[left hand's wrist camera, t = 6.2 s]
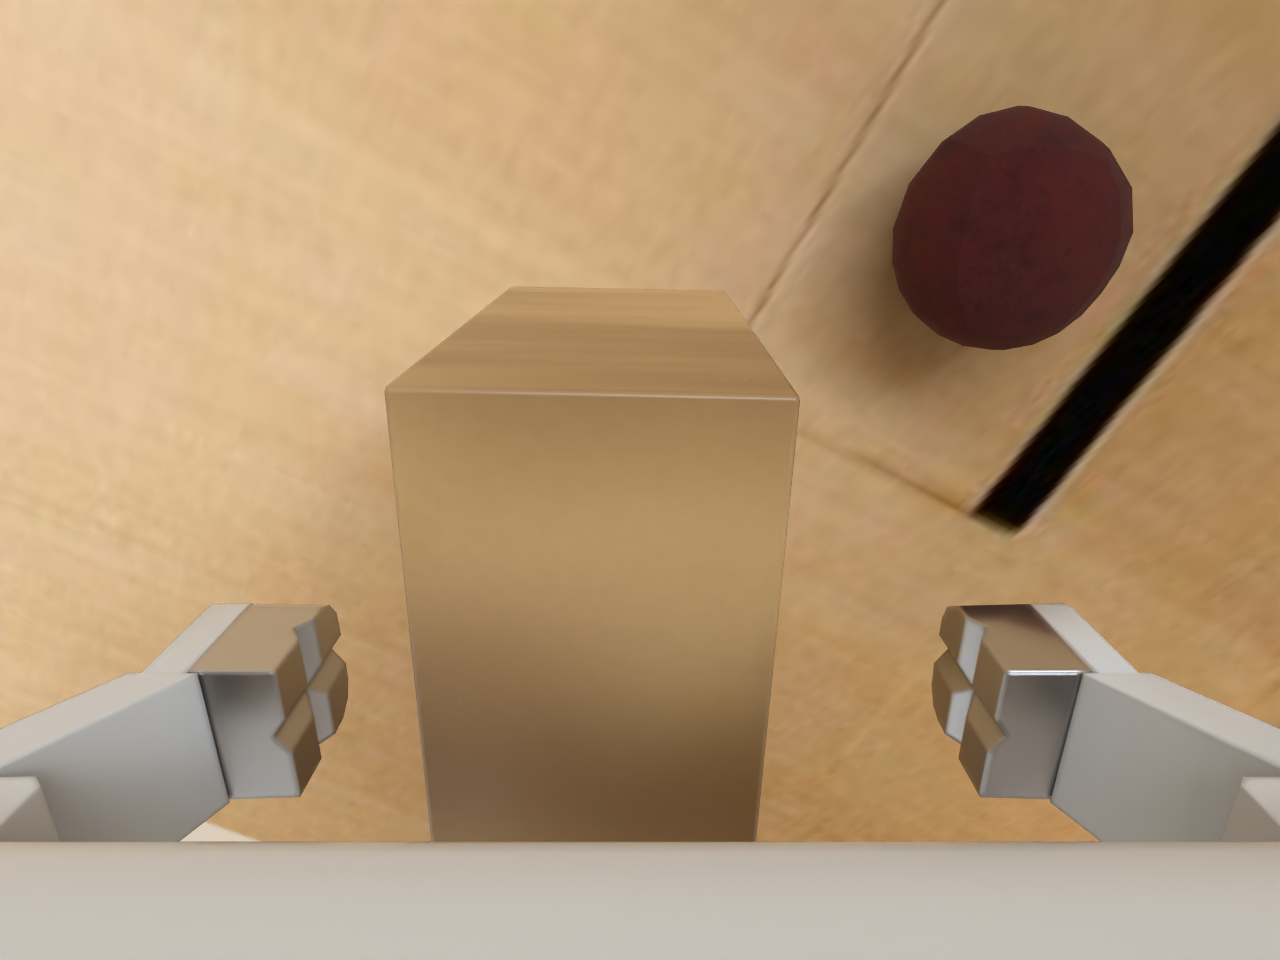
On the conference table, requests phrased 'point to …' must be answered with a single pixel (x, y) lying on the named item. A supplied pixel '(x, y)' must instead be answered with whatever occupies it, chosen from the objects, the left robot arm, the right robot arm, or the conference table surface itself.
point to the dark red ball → (1011, 229)
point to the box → (594, 564)
